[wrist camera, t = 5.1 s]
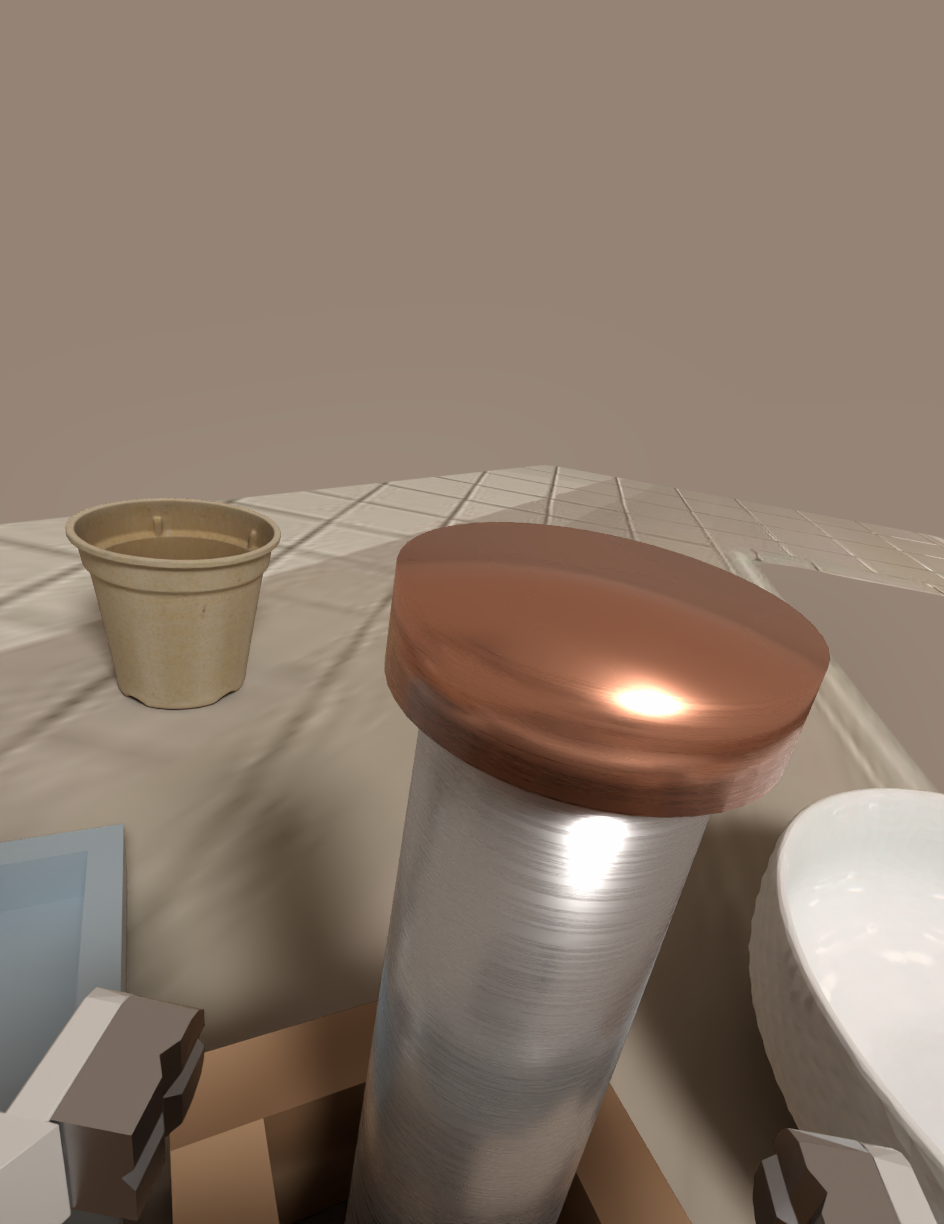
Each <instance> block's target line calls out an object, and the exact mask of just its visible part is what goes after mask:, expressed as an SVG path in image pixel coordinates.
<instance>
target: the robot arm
mask: <svg viewBox="0 0 944 1224" xmlns="http://www.w3.org/2000/svg"><path fill="white" fill-rule="evenodd" d="M204 1025H205V1024H204V1009H199V1008H195V1007H190V1006H185V1005H180V1004H175V1003H170V1002H165V1001H160V1000H155V999H151V998H146V997H141V996H137V995H134V994H130V993H125V992H120V991H115V990H110V989H104V988H99V987H96V988H95V989H94V990H93V991H92V992H91V993H90V994H89V995H88V996H86V997H85V998H84V999H83V1001H82V1002H81V1004H80V1005H79V1006H78V1008H77V1009H76V1011H75V1012H74V1014H73V1015H72V1017H71V1018H70V1019H69V1021H68V1022H67V1024H66V1025H65V1027H64V1028H63V1030H62V1031H61V1032H60V1034H59V1035H58V1037H57V1038H56V1040H55V1041H54V1043H53V1044H52V1045H51V1047H50V1048H49V1050H48V1051H47V1053H46V1054H45V1056H44V1057H43V1059H42V1060H41V1061H40V1063H39V1064H38V1066H37V1067H36V1069H35V1070H34V1072H33V1073H32V1074H31V1076H30V1077H29V1079H28V1080H27V1082H26V1083H25V1085H24V1086H23V1087H22V1089H21V1090H20V1092H19V1093H18V1095H17V1096H16V1098H15V1099H14V1100H13V1102H12V1103H11V1105H10V1106H9V1108H8V1109H7V1111H6V1112H1V1111H0V1224H62V1223H63V1222H64V1221H65V1220H66V1219H67V1218H68V1217H69V1216H70V1215H71V1209H72V1210H78V1211H83V1212H89V1213H94V1214H100V1215H106V1216H111V1217H117V1218H123V1219H128V1220H134V1221H138V1219H139V1217H140V1215H141V1213H142V1210H143V1208H144V1206H145V1204H146V1202H147V1200H148V1197H149V1195H150V1193H151V1191H152V1189H153V1186H154V1184H155V1182H156V1180H157V1178H158V1176H159V1173H160V1171H161V1169H162V1167H163V1165H164V1163H165V1137H166V1136H167V1135H168V1134H170V1133H171V1132H172V1131H173V1130H174V1129H176V1128H177V1127H178V1126H179V1125H181V1124H182V1123H183V1121H184V1118H185V1116H186V1114H187V1112H188V1109H189V1107H190V1105H191V1102H192V1100H193V1098H194V1095H195V1091H196V1088H197V1085H198V1082H199V1079H200V1076H201V1073H202V1067H203V1062H204V1045H203V1044H202V1042H201V1041H200V1040H199V1039H198V1038H199V1035H200V1033H201V1031H202V1029H203V1027H204ZM773 1143H774V1147H775V1150H776V1154H775V1155H773V1156H771V1157H769V1158H766V1159H764V1160H762V1161H761V1163H760V1166H759V1168H758V1170H757V1172H756V1174H755V1176H754V1189H753V1205H754V1214H755V1221H756V1224H937V1222H936V1220H935V1218H934V1216H933V1213H932V1211H931V1209H930V1207H929V1205H928V1202H927V1200H926V1198H925V1196H924V1194H923V1191H922V1189H921V1187H920V1185H919V1183H918V1180H917V1178H916V1176H915V1174H914V1171H913V1169H912V1167H911V1165H910V1163H909V1162H908V1161H907V1159H906V1158H905V1157H904V1156H903V1154H902V1153H901V1152H899V1151H897V1150H895V1149H892V1148H888V1147H883V1146H878V1145H872V1144H867V1143H862V1142H857V1141H856V1140H851V1139H845V1138H840V1137H834V1136H829V1135H823V1134H818V1133H812V1132H807V1131H801V1130H796V1129H790V1128H786V1129H782V1130H779V1132H778V1134H777V1135H776V1137H775V1139H774V1140H773Z"/></svg>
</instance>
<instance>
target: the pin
mask: <svg viewBox="0 0 944 1224" xmlns="http://www.w3.org/2000/svg"><path fill="white" fill-rule="evenodd" d="M829 661H830V654H829V649H828V646H827V644H826V642H825V640H824V638H823V636H822V635H821V634H820V633H819V632H818V630H817V629H816V628H815V627H814V625H813V624H811V622H810V621H808V620H807V619H806V618H805V617H804V616H803V615H802V614H801V613H799V612H798V611H797V610H795V609H794V608H793V607H791V606H790V605H789V604H787V603H786V602H784V601H783V600H781V599H779V598H778V597H776V596H775V595H773V594H771V593H770V592H768V591H766V590H764V589H762V588H760V587H759V586H757V585H755V584H753V583H751V582H749V581H747V580H745V579H743V578H741V577H738V576H736V575H734V574H732V573H729V572H727V571H725V570H722V569H720V568H718V567H715V566H713V565H710V564H707V563H705V562H702V561H700V560H697V559H694V558H691V557H688V556H685V555H682V554H679V553H676V552H673V551H670V550H667V549H663V548H660V547H657V546H653V545H649V544H646V543H642V542H638V541H634V540H630V539H626V538H621V537H617V536H613V535H608V534H603V533H598V532H593V531H587V530H581V529H575V528H568V527H560V526H552V525H543V524H532V523H514V522H485V523H469V524H460V525H453V526H448V527H443V528H439V529H435V530H432V531H428V532H426V533H424V534H421V535H419V536H417V537H415V538H414V539H412V540H411V541H409V542H408V543H407V544H406V545H405V546H404V547H403V548H402V549H401V550H400V553H399V555H398V557H397V562H396V570H395V579H394V587H393V595H392V604H391V612H390V620H389V629H388V637H387V646H386V654H385V675H386V679H387V684H388V686H389V689H390V691H391V693H392V695H393V697H394V699H395V701H396V702H397V703H398V705H399V706H400V708H401V709H402V710H403V712H404V713H405V714H406V716H407V717H408V718H409V719H410V720H411V721H412V722H413V723H414V724H415V725H416V726H417V727H418V728H419V731H418V738H417V744H416V751H415V758H414V765H413V771H412V778H411V785H410V791H409V798H408V805H407V811H406V818H405V825H404V831H403V838H402V845H401V851H400V858H399V865H398V871H397V878H396V885H395V891H394V898H393V905H392V912H391V918H390V925H389V932H388V938H387V945H386V952H385V958H384V965H383V972H382V978H381V985H380V992H379V998H378V1005H377V1012H376V1018H375V1025H374V1032H373V1039H372V1045H371V1052H370V1059H369V1065H368V1072H367V1079H366V1085H365V1092H364V1099H363V1105H362V1112H361V1119H360V1125H359V1132H358V1139H357V1145H356V1152H355V1159H354V1165H353V1172H352V1179H351V1186H350V1192H349V1199H348V1206H347V1212H346V1219H345V1224H556V1223H557V1220H558V1217H559V1215H560V1212H561V1209H562V1207H563V1204H564V1202H565V1199H566V1196H567V1194H568V1191H569V1188H570V1186H571V1183H572V1180H573V1178H574V1175H575V1172H576V1170H577V1167H578V1165H579V1162H580V1159H581V1157H582V1154H583V1151H584V1149H585V1146H586V1143H587V1141H588V1138H589V1135H590V1133H591V1130H592V1128H593V1125H594V1122H595V1120H596V1117H597V1114H598V1112H599V1109H600V1106H601V1104H602V1101H603V1098H604V1096H605V1093H606V1090H607V1088H608V1085H609V1083H610V1080H611V1077H612V1075H613V1072H614V1069H615V1067H616V1064H617V1061H618V1059H619V1056H620V1053H621V1051H622V1048H623V1046H624V1043H625V1040H626V1038H627V1035H628V1032H629V1030H630V1027H631V1024H632V1022H633V1019H634V1016H635V1014H636V1011H637V1009H638V1006H639V1003H640V1001H641V998H642V995H643V993H644V990H645V987H646V985H647V982H648V979H649V977H650V974H651V971H652V969H653V966H654V964H655V961H656V958H657V956H658V953H659V950H660V948H661V945H662V942H663V940H664V937H665V934H666V932H667V929H668V927H669V924H670V921H671V919H672V916H673V913H674V911H675V908H676V905H677V903H678V900H679V897H680V895H681V892H682V890H683V887H684V884H685V882H686V879H687V876H688V874H689V871H690V868H691V866H692V863H693V860H694V858H695V855H696V853H697V850H698V847H699V845H700V842H701V839H702V837H703V834H704V831H705V829H706V826H707V823H708V821H709V818H710V815H711V814H715V813H721V812H725V811H728V810H731V809H735V808H738V807H741V806H744V805H746V804H748V803H750V802H752V801H754V800H756V799H758V798H760V797H762V796H763V795H764V794H766V793H767V792H768V791H769V790H770V789H772V788H773V787H774V786H775V785H776V784H777V782H778V781H779V779H780V778H781V776H782V775H783V773H784V771H785V769H786V766H787V764H788V762H789V759H790V757H791V755H792V752H793V750H794V747H795V745H796V743H797V740H798V738H799V736H800V733H801V731H802V728H803V726H804V724H805V721H806V719H807V716H808V714H809V712H810V709H811V707H812V705H813V702H814V700H815V697H816V695H817V693H818V690H819V688H820V685H821V683H822V681H823V678H824V676H825V674H826V671H827V669H828V665H829Z"/></svg>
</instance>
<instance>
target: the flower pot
mask: <svg viewBox="0 0 944 1224" xmlns="http://www.w3.org/2000/svg"><path fill="white" fill-rule="evenodd" d="M65 527H66V535H67V538H68V539H69V541H70V542H71V543H72V544H73V545H75V546H76V547H77V548H78V550H79V553H80V557H81V560H82V563H83V565H84V567H85V568H86V569H87V571H89V572H90V574H91V578H92V582H93V585H94V589H95V593H96V596H97V600H98V604H99V608H100V612H101V616H102V620H103V624H104V628H105V632H106V636H107V640H108V644H109V648H110V652H111V656H112V660H113V664H114V668H115V672H116V677H117V682H118V685H119V688H120V690H121V691H122V692H123V694H124V695H126V696H133V697H135V698H137V699H138V700H140V701H141V702H143V703H144V704H145V705H147V706H149V707H155V708H163V709H186V708H195V707H202V706H206V705H210V704H213V703H215V702H217V701H218V700H219V699H220V698H221V697H223V696H224V695H225V694H227V693H229V692H231V691H237V690H238V689H239V688H240V687H241V685H242V684H243V682H244V679H245V676H246V668H247V662H248V656H249V650H250V643H251V637H252V632H253V626H254V621H255V615H256V609H257V604H258V598H259V592H260V586H261V581H262V576H263V573H264V572H265V571H266V569H267V568H268V566H269V562H270V556H271V551H272V550H273V549H274V548H276V547H277V545H278V544H279V542H280V537H281V531H280V529H279V527H278V526H277V525H276V523H275V522H273V521H272V520H271V519H269V518H268V517H266V516H264V515H262V514H260V513H257V512H254V511H251V510H249V509H246V508H242V507H238V506H234V505H230V504H224V503H219V502H213V501H206V500H205V501H204V500H192V499H177V498H173V499H172V498H150V499H135V500H127V501H120V502H112V503H106V504H103V505H99V506H94V507H91V508H88V509H86V510H83V511H81V512H78V513H77V514H75V515H74V516H72V517H71V518H70V519H69V520H68V521H67V523H66V526H65Z"/></svg>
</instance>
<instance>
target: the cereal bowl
mask: <svg viewBox="0 0 944 1224" xmlns="http://www.w3.org/2000/svg"><path fill="white" fill-rule="evenodd" d="M751 931H752V932H751V938H750V942H749V945H748V948H749V953H750V963H749V971H750V974H749V975H750V979H751V994H752V1004H753V1007H754V1010H755V1012H756V1018H757V1025H758V1028H759V1031H760V1033H761V1036H762V1039H763V1043H764V1048H765V1053H766V1055H767V1057H768V1059H769V1062H770V1064H771V1066H772V1069H773V1072H774V1076H775V1079H776V1082H777V1084H778V1085H779V1087H780V1089H781V1091H782V1093H783V1095H784V1098H785V1101H786V1104H787V1108H788V1111H789V1112H790V1113H791V1115H792V1116H793V1119H794V1121H795V1123H796V1125H797V1127H798V1129H799V1130H801V1131H807V1132H812V1133H818V1134H823V1135H829V1136H834V1137H840V1138H845V1139H851V1140H856V1141H857V1142H862V1143H867V1144H872V1145H878V1146H883V1147H888V1148H892V1149H895V1150H897V1151H899V1152H901V1153H902V1154H903V1156H904V1157H905V1158H906V1159H907V1161H908V1162H909V1163H910V1165H911V1167H912V1169H913V1171H914V1174H915V1176H916V1178H917V1180H918V1183H919V1185H920V1187H921V1189H922V1191H923V1194H924V1196H925V1198H926V1200H927V1202H928V1205H929V1207H930V1209H931V1211H932V1213H933V1216H934V1218H935V1220H936V1222H937V1224H944V794H941V793H935V792H929V791H922V790H912V789H903V788H872V789H859V790H851V791H847V792H842V793H837V794H833V795H830V796H828V797H825V798H822V799H820V800H817V801H816V802H814V803H812V804H810V805H809V806H807V807H806V808H804V809H803V810H802V811H800V812H799V813H798V814H797V815H796V816H795V817H794V818H793V819H792V820H791V822H790V823H789V824H788V825H787V827H786V828H785V830H784V831H783V832H782V834H781V835H780V837H779V838H778V839H777V842H776V845H775V849H774V851H773V852H772V854H771V856H770V857H769V861H768V867H767V869H766V871H765V873H764V875H763V877H762V879H761V888H760V891H759V894H758V896H757V898H756V900H755V912H754V915H753V918H752V920H751Z"/></svg>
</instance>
